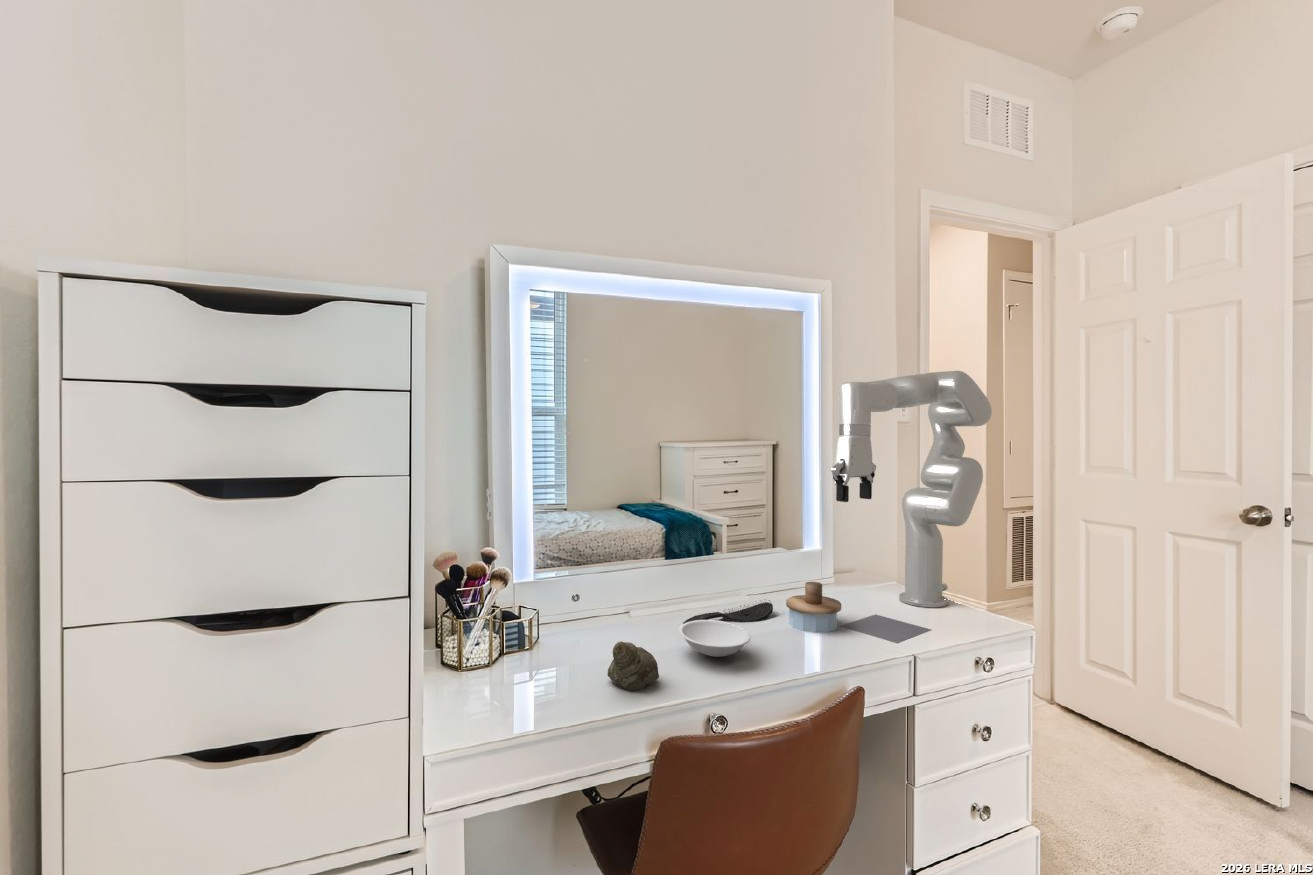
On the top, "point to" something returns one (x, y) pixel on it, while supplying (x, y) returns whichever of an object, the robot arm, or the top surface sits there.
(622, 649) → the seashell
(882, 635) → the mat
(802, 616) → the bowl
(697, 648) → the dish
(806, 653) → the top surface
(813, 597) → the lid
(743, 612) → the hairbrush
